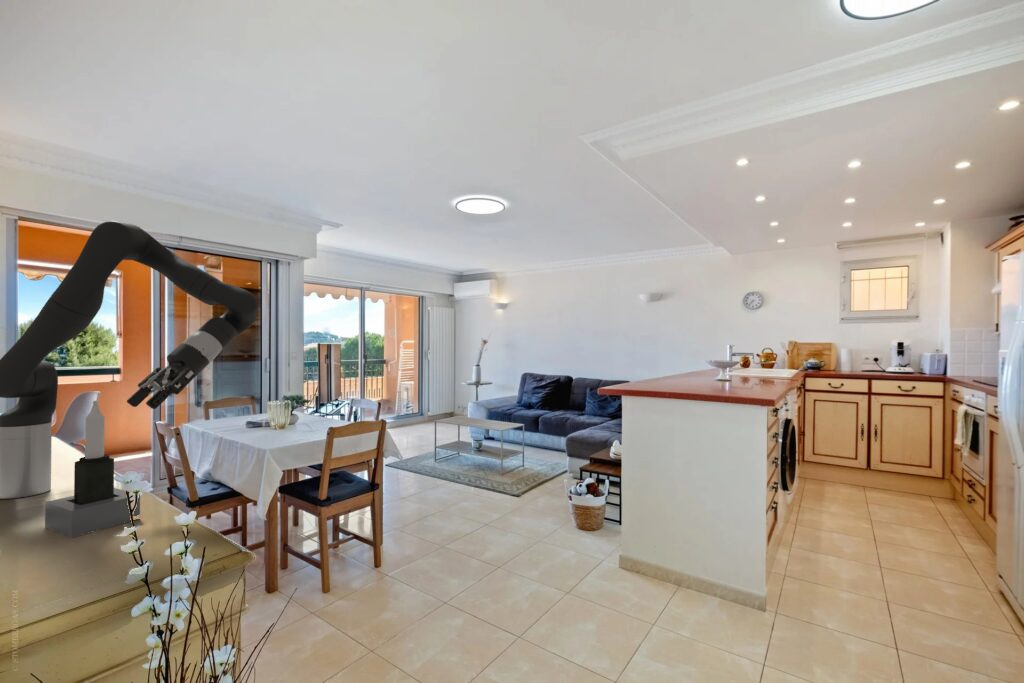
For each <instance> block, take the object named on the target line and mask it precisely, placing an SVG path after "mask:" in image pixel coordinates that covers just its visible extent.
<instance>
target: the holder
mask: <svg viewBox="0 0 1024 683" xmlns="http://www.w3.org/2000/svg"><path fill="white" fill-rule="evenodd" d="M126 491H127V490H124V489H119V488H115V487H114V498H110V499H106V500H101V501H97V502H93V503H88V504H84V505H78V504H75V503H74V495H71V496H66V497H61V498H57V499H52V500H48V501H45V502H44V503H45V506H44V528H46V527H47V529H49V528H50V529H49V530H51V529H52V530H51V531H54V532H56V531H57V532H56V533H58V534H61V533H62V534H61V535H63V534H65V535H64V536H66V535H67V536H66V537H68V536H70V537H69V538H71V537H72V538H75V537H74V536H76V537H79V536H82V535H81V534H83V535H85V533H87V534H89V533H88V532H90V533H93V532H92V531H94V532H97V530H98V531H101V530H104V529H108V528H112V527H115V526H119V525H122V523H123V524H126V523H130V522H131V521H130V513H129V509H128V505H127V497H126ZM139 514H140V515H141V494H139V498H138V502H137V507H136V509H135V511H134V516H137V515H139ZM124 522H126V523H124ZM78 535H79V536H78Z"/></svg>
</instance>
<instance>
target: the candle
mask: <svg viewBox="0 0 1024 683" xmlns="http://www.w3.org/2000/svg"><path fill="white" fill-rule="evenodd" d="M98 404H99V402H98V400H94V401H92V407H91V408H90V412H89V413H88V414H87V416H86V417H85V425H84V426H85V429H84V430H85V431H84V432H85V433H84V434H85V439H84V440H85V442H84V447H85V448H84V456H83V457H80V458H79V460H77V461H75V462H74V479H73V480H74V481H73V482H74V488H73V496H74V503H75V504H78V505H84V504H88V503H93V502H97V501H101V500H106V499H110V498H114V488H115V487H114V486H115V483H114V482H115V480H114V479H115V458H113V457H110V454H105V423H106V422H105V421H106V420H105V415H104V414H103V413H102V411H101V410H100V407H99V405H98Z"/></svg>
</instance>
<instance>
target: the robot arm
mask: <svg viewBox="0 0 1024 683" xmlns="http://www.w3.org/2000/svg"><path fill="white" fill-rule="evenodd" d="M122 261H133V262H137V263H140V264H142V265H144V266H146V267H149V268H151V269H153V270H155V271H157V272H158V273H159V274H161V275H163V276H164V277H165V278H167V279H168V280H169V281H170V282H171V283H172V284H173V285H175V286H176V287H177V288H178V289H180V290H181V291H182V292H184V293H186V294H187V295H189V296H191V297H193V298H194V299H196V300H198V301H200V302H202V303H204V304H205V305H208V306H215V305H216V306H217V305H218V304H219V305H221V306H223V307H225V308H226V309H227V310H226V311H225V312H224V313H223V314H222V315H220V316H216V317H215V316H214V317H212V318H210V319H209V320H208V321H206V322H205V323H204V324H203V325H202V326H201V327H200V328H199V329H197V330H195V332H193V333H192V334H190V335H189V336H188V337H186V338H185V339H184V341H182V342H181V343H180V344H179V345H177V347H175V349H173V350H172V351H171V352H170V353H169V354H167V356H166V361H167V362H168V366H165V367H163V368H161V367H160V366H159V367H156V368H155V369H154V370H152V372H151V373H149V375H147V376H146V377H145V378H144V379H142V380H141V381H140V382H139V383H138V384H137V387H138V388H139V389H138V390H136V391H135V393H133V394H132V395H131V396H130V397H129V398H128V399H126V403H127V404H129V406H131V407H134V408H137V407H138V406H140V404H141V403H142V402H143V401H144V400H145V399H146V398H148V397H149V396H150V395H151V394H153V395H152V396H151V397H150V398H149V399H148V400H147V401H146V402H145V404H146V406H148V408H150V409H153V410H156V409H157V408H158V407H159V406H160V405H161V404H162V403H164V401H166V400H167V399H168V398H169V397H171V396H173V395H179V394H180V393H181V392H182V391H183V390H184V389H185V387H187V386H188V385H189V384H190V382H191V381H192V380H194V379H195V377H197V376H198V375H199V374H200V373H201V372H202V371H203V370H204V369H205V368H206V367H208V366H209V365H210V363H212V361H214V360H215V358H216V357H217V356H218V355H219V354H220V352H221V351H222V350H223V349H224V348H225V347H226V346H227V345H228V344H229V343H230V342H232V340H233V339H234V338H236V337H238V335H240V334H242V333H243V332H245V331H246V330H248V329H249V328H250V327H251V326H252V325H253V323H254V322H256V319H257V317H258V310H259V300H258V299H257V297H256V296H255V294H253V293H252V292H249V290H247V289H245V288H241V287H239V286H236V285H234V284H231V283H227V282H223V281H222V280H220V279H218V278H217V277H215V276H213V275H212V274H210V273H208V272H206V271H205V270H202V269H201V268H199V267H198V266H196V265H194V264H192V263H190V262H189V261H187V260H186V259H183V258H182V257H180V256H178V255H177V254H175V253H174V252H173V251H172V250H170V249H168V248H167V247H166V246H165V245H163V244H162V243H161V242H159V241H158V240H157V239H155V237H153V236H152V235H151V234H149V233H148V232H146V231H145V230H144V229H143V228H141V227H140V226H138V225H136V224H132V223H129V222H123V221H118V220H107V221H104V222H101V223H100V224H98V225H97V226H96V227H95V228H94V229H93V230H92V232H91V233H90V235H89V236H88V239H87V240H86V242H85V244H84V246H83V248H82V251H81V252H80V254H79V256H78V258H77V259H76V261H75V263H73V265H72V267H71V268H70V270H69V271H68V272H67V274H65V277H63V280H61V282H60V284H59V285H58V286H57V288H56V289H55V290H54V291H53V293H52V294H51V295H50V297H49V298H48V299H47V301H46V302H45V304H44V305H43V307H42V308H41V310H40V311H39V313H38V314H37V315H36V317H35V318H34V319H33V321H32V322H31V324H30V325H29V326H28V327H27V328H26V330H25V332H24V333H23V334H22V335H21V336H20V338H19V339H18V340H17V341H16V342H15V343H14V344H13V345H12V346H11V347H10V349H9V350H8V351H7V352H6V353H4V355H2V357H1V358H0V398H1V399H2V398H3V399H16V398H17V399H18V402H17V404H15V405H14V406H13V407H12V408H10V409H9V410H7V411H4V412H2V413H1V414H0V499H6V500H7V499H18V498H24V497H25V498H26V497H31V496H37V495H40V494H44V493H46V492H48V491H51V489H52V421H53V420H52V419H53V415H54V413H55V411H56V409H57V400H58V388H59V387H58V386H59V377H58V376H59V375H58V371H57V369H56V368H55V365H53V364H52V363H51V362H50V361H47V360H45V358H46V357H47V356H49V355H50V354H51V353H52V352H54V351H55V350H56V349H58V348H60V347H61V346H62V345H65V344H67V342H70V341H71V340H72V339H74V338H76V337H77V336H79V335H80V334H81V333H82V332H84V331H85V330H86V329H87V328H88V327H89V326H90V324H91V323H92V322H93V320H94V319H95V317H96V316H97V314H98V312H99V311H100V310H101V308H102V305H103V300H104V295H105V294H104V293H105V287H106V283H107V282H108V279H109V278H110V276H111V274H112V273H113V272H114V270H116V268H117V267H118V265H119V264H121V263H122ZM154 392H155V393H154Z"/></svg>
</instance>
